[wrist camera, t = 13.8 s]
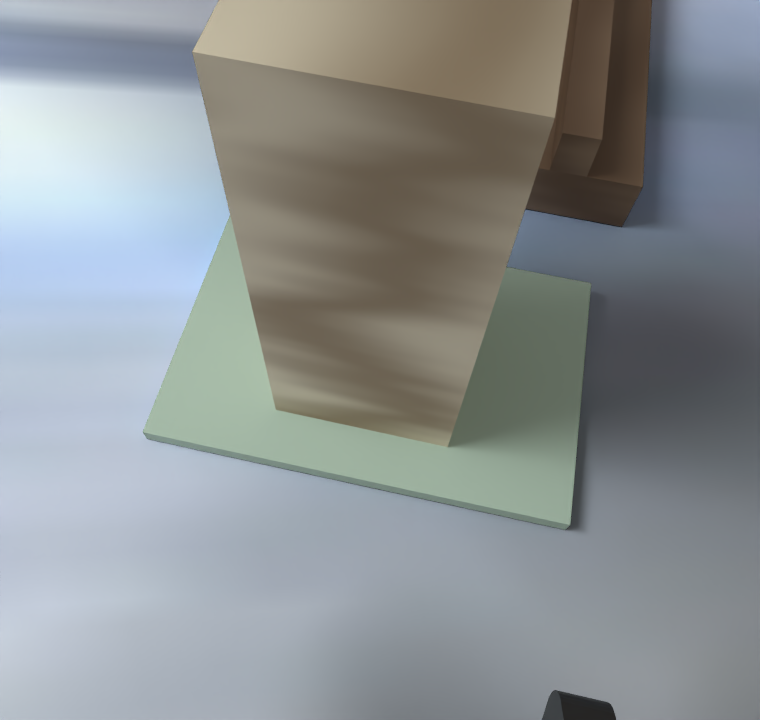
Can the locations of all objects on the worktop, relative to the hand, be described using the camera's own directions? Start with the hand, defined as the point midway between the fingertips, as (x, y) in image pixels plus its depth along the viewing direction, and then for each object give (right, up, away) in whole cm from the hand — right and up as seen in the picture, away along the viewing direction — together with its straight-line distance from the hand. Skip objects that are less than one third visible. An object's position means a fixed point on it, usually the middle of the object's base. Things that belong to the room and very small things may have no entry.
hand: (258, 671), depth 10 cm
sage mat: (+2, +4, +12) cm, 13 cm away
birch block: (+2, +5, +11) cm, 12 cm away
